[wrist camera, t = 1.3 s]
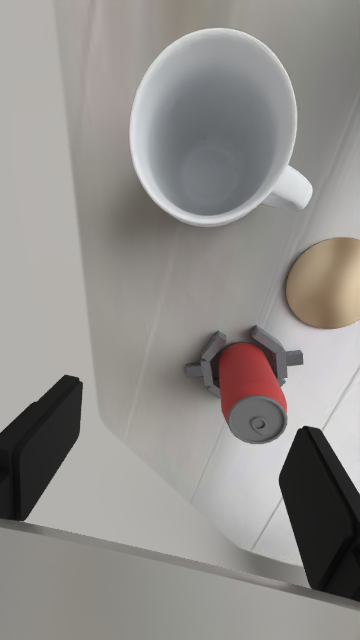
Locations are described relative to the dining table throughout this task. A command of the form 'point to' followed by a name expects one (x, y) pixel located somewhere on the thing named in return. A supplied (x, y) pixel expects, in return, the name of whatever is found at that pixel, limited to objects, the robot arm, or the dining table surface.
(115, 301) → the dining table surface
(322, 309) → the disc
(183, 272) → the dining table surface
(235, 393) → the beer can
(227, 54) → the mug
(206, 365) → the collar
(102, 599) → the robot arm
